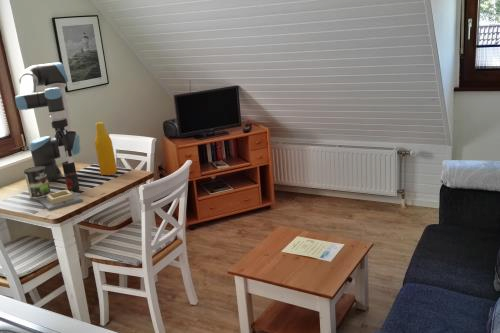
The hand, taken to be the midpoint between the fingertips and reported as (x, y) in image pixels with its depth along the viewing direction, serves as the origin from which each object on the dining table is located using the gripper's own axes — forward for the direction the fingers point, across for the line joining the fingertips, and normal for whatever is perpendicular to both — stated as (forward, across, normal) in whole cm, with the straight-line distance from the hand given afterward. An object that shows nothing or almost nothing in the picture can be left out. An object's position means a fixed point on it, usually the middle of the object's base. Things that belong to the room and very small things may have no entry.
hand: (67, 160), depth 262 cm
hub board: (+16, +13, -10) cm, 23 cm away
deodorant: (+16, 0, 0) cm, 16 cm away
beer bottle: (+16, -14, +24) cm, 32 cm away
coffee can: (+16, -7, -15) cm, 23 cm away
